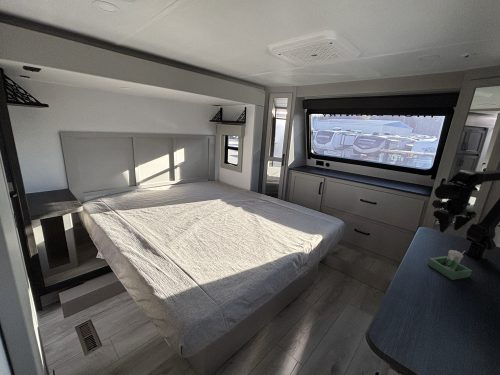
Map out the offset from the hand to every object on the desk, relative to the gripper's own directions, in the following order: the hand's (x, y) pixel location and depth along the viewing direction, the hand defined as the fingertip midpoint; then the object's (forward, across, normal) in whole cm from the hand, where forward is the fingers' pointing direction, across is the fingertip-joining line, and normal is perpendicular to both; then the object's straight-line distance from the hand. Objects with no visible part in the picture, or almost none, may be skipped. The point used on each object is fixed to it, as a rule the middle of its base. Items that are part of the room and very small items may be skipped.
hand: (448, 231), depth 101 cm
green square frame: (+13, +10, +9) cm, 18 cm away
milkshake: (+13, +8, +10) cm, 18 cm away
